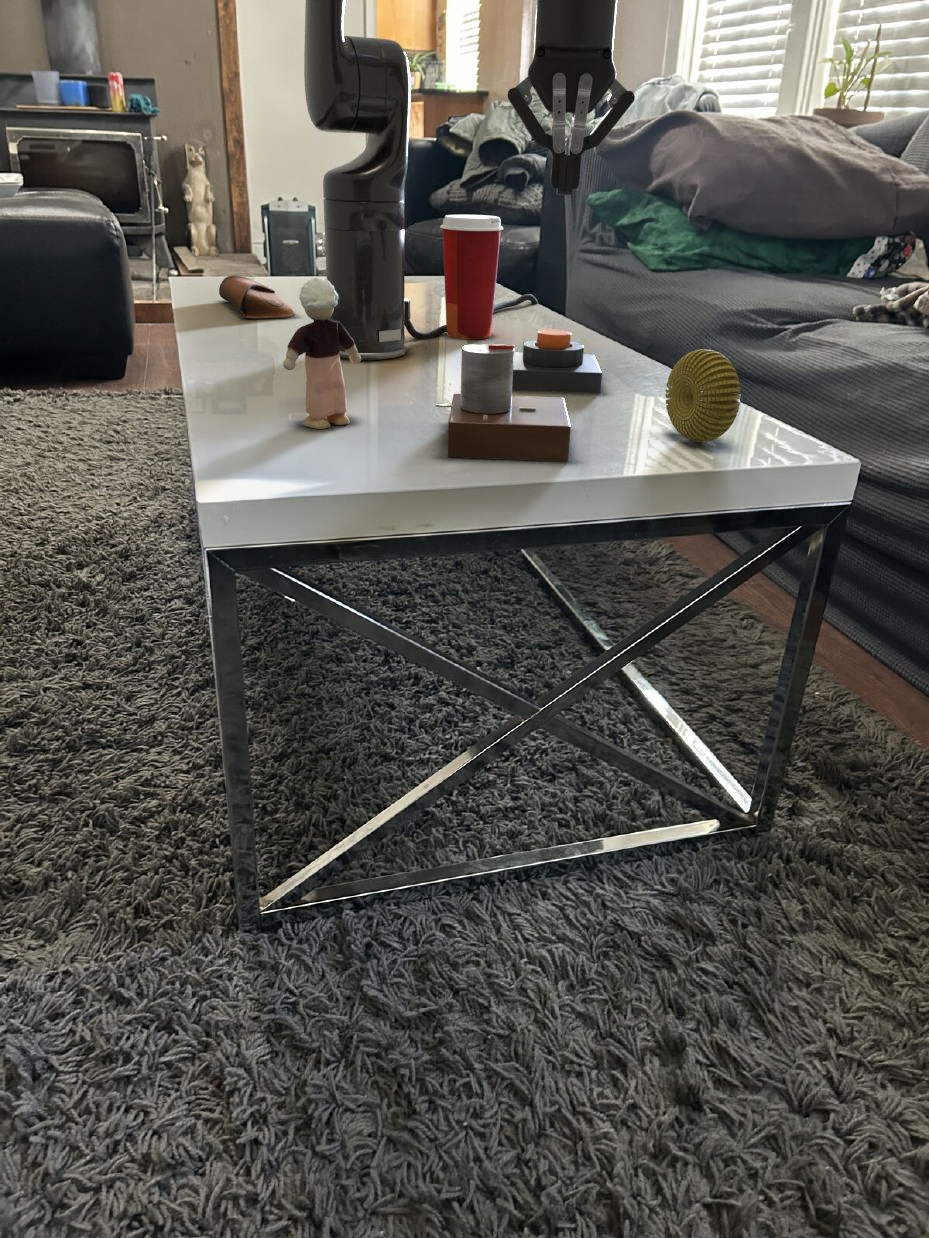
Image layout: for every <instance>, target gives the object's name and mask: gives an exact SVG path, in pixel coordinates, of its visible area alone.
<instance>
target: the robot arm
mask: <svg viewBox="0 0 929 1238" xmlns="http://www.w3.org/2000/svg"><path fill="white" fill-rule="evenodd" d="M617 3H618V0H536V8H535V9H536V10H535V31H534V48H533V58H532V61H531V63H530V65H529V67H528V70H527V77H525V78H524V79H523V80H521V82H519V83H518V84H517V85H516V86H515V87H512V88H509V90H508V91H507V94H506V95H507V100H508V101H509V103H510V105H511V106H512V108H513V110H514V111H515V113H516V114H517V116H518V117H519V119H520V120H521V122H522V124H523V125H524V127H525V128H526V130H527V132H528V133H529V135H530V136H531V138H532V140H533V142H534V143H535V144H536V145H537V146H540V147H543V148H545V149H547V150H549V151H550V153H551V165H550V166H551V170H550V185H551V188H552V189H556V195H557V196H572V194H573V190H578V187H579V185H580V177H581V165H582V164H581V163H582V156H583V154H584V153H585V152H586V151H588V150H590V149H593V148H596V147H599V146H600V144H601V143H602V142H603V141H604V139H605V138H606V137H607V136H608V135H609V133H610V132H611V131H612V130H613V128H614V127H615V126H616V124H617V123H618V122H619V121H620V120H621V118H623V115H625V113H626V112H627V111H628V109H630V107H631V106H632V105H633V104H634V102H635V99H636V95H635V93H634V92H633V91H632V90H628V89H626V87H624V85H622V84H621V82H619V81H618V80H617V69H616V67H615V64H614V60H613V54H614V53H613V51H614V39H615V27H616V17H617V5H618V4H617ZM304 6H305V7H304V9H305V10H304V51H303V52H304V53H303V56H304V60H303V62H304V63H303V65H304V66H303V67H304V68H303V70H304V72H303V75H304V76H303V77H304V78H303V79H304V92H305V93H304V94H305V101H306V108H307V112H308V115H309V118H310V121H311V122H312V124H313V126H314V127H315V128H316V129H317V130H318V131H321V132H325V133H337V134H338V133H339V134H363V135H364V134H367V143H366V146H365V148H364V150H362V152H361V153H360V154H359V155H357V156H356V157H355V158H354V159H352V160H350V161H349V162H347V163H345V164H342V165H339V166H337V167H334V168H331V169H330V170H328V171H327V172H325V174H324V175H323V180H322V190H323V191H322V192H323V221H324V223H323V224H324V245H325V246H324V247H325V273H326V274H325V277H326V278H325V279H327V280H328V281H329V282H330V283H331V284H332V285H333V286H334V290H335V291H336V292H337V294H338V299H337V303H338V305H336V306H335V307H334V310H333V313H332V315H331V316H330V318H329V319H328V320H333V321H338V322H340V323H341V324H342V326H343V327H344V328H345V329H346V331H347V332H348V333H349V335H350V336H351V337H352V339H353V340H354V343H355V346H356V348H357V353H358V354H359V355H360V357H361V361H362V360H363V361H364V360H365V361H372V360H373V361H374V360H375V361H377V360H389V359H394V358H399V357H402V356H404V355H405V354H406V344H405V329H406V331H407V332H408V334H409V335H410V336H411V337H412V338H413V339H416V340H427V339H434V338H437V337H440V336H442V335H443V334H447V325H446V324H443V325H441V326H439V327H437V328H435V329H433V330H431V331H427V332H422V331H419V330H417V329H416V328H415V327H414V325H413V323H412V320H411V298H405V187H406V180H407V175H408V174H407V173H408V163H409V162H408V161H409V160H408V159H409V156H408V155H409V130H410V113H411V112H410V111H411V71H410V66H409V60H408V57H407V54H406V52H405V49H404V48H403V46H402V45H401V44H400V43H399V42H397V41H396V40H392V39H388V38H379V37H364V36H351V35H344V18H345V17H344V16H345V7H346V0H305V5H304ZM532 88H533V89H534V91H535V93H536V95H537V96H538V99H539V100H540V102H541V104H542V105H543V107H544V109H545V110H546V111H547V112H548V113H549V114H550V115H551V134H549V133H547V132H546V131H545V129H544V127H542V125H541V123H540V122H539V120H538V119H537V117H536V116H535V114H534V113H533V111H532V109H531V107H530V105H531V103H532V102H533V95H532V91H531V90H532ZM608 91H609V97H608V98H607V103H606V104H607V106H608V108H609V109H608V110H607V112H606V113H605V114H604V115H603V117H602V118H601V120H600V121H599V122H598V123H597V124H596V126H595V127H594V128H593V130H592V131H591V132H590V133H589V134H587V135H585V130H586V127H587V126H586V125H587V119H588V114H590V113H592V112H593V111H594V110H595V109H596V107H597V106H598V105H599V104H600V102H601V100H602V99H603V98H604V97H605V95H606V94H607V93H608ZM566 114H571V115H572V116H571V122H570V132H569V133H570V134H569V140H568V153H567V154H566V123H567V122H566V119H567V118H566ZM527 301H529V302H530V303H531V304H532V305H539V302H538V299H537V298H536V297H535V296H534V295H533V294H531V293H525V294H523V295H521V296H519V297H517V298H515V299H511V300H506V301H501V302H498V303H494V309H493V313H494V312H496V311H500V310H504V309H508V308H512V307H517V306H519V305H521V304H522V303H524V302H527ZM339 355H340V359H348V360H350V357H349V356H348V355H347V353H346V351H345V349H344V348H342V347H340V346H339Z"/></svg>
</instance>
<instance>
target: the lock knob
mask: <svg viewBox="0 0 929 1238" xmlns="http://www.w3.org/2000/svg"><path fill="white" fill-rule="evenodd" d="M514 352H515V344H505V343H504V344H503V343H502V344H501V343H486V342H485V343H482V342H481V343H480V342H479V343H469V344H465V345H463V346H462V347H461V365H460V394H461V400H460V407H461V408H462V409H463V410H465V411H469V412H473V413H481V414H497V413H504V412H507V411H509V410H511V405H512V396H513V390H512V385H513V364H514Z"/></svg>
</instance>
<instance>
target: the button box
mask: <svg viewBox="0 0 929 1238" xmlns="http://www.w3.org/2000/svg"><path fill="white" fill-rule="evenodd" d="M584 349H585V347H584V345H583V344H582V343H579V342H575V341H571V340H570V348H563V349H552V348H543V347H538V346H537V339H531V340H528V341H524V342H523V346H522V351H514V364H513V385H512V391H522V392H523V391H525V392H553V393H577V394H578V393H579V394H582V393H583V394H584V393H585V394H601V392H602V391H601V390H602V379H603V373H602V369H601V368H600V365H599V363H598V361H597V359H596V356H595V354H593V353H584V351H585V350H584Z"/></svg>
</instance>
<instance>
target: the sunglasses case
mask: <svg viewBox="0 0 929 1238" xmlns="http://www.w3.org/2000/svg"><path fill="white" fill-rule="evenodd" d="M218 294H219V296H220V298H222V300H224V301H226V302H229V303H230V304H231V305H232V306H233V307H234V308H236V309H237V310H238V311H239V312H241V313H242V314H243V315H244V316H245V318H247V319H250V320H252V319H256V320H275V319H282V318H284V319H285V318H290V317H293V316H296V313H295V311H294V309H293V308H292V307H291V306H290V305H289V304H288V303H287V302H286V301H285V300H284V299H283V298H281V296H279V295H277V294H276V290H275V289H273V288H272V287H270V286H268V285H265V284H263V283H260V282H259V281H256V280H254V279H252V278H249V277H246V276H240V275H228V276H226V277H224V278H223V280H222V281H221V283H220V284H219V288H218Z"/></svg>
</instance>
